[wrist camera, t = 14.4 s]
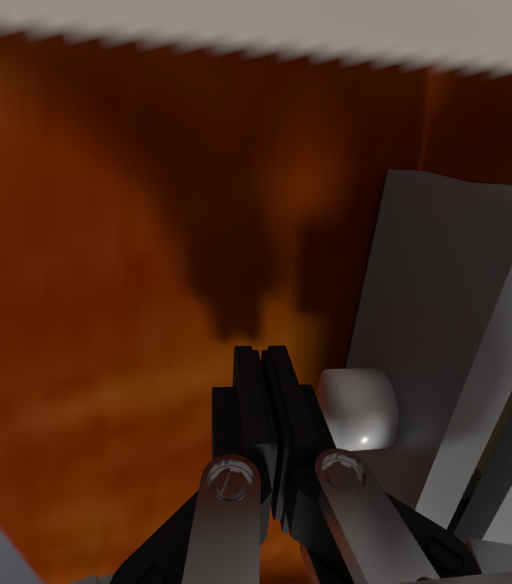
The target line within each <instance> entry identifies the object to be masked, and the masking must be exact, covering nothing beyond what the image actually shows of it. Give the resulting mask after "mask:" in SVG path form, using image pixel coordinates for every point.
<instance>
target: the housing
mask: <svg viewBox="0 0 512 584" xmlns="http://www.w3.org/2000/svg"><path fill="white" fill-rule="evenodd" d="M474 184H478V185H482V186H486V187H490V188H493V189H497V190H501V191H505V192H509V193H512V185H505V184H487V183H474ZM447 530H448V531H449V532H451V533H452V534H454V535H455V536H456V537H457V538H459V539H460V540H461V541H463V542H466V541H467V539H468V538H473V539H479V540H486V541H492V542H498V543H505V544H511V545H512V415H511V417H510V419H509V421H508V423H507V425H506V427H505V429H504V431H503V433H502V435H501V437H500V440H499V442H498V444H497V446H496V448H495V450H494V452H493V454H492V456H491V458H490V460H489V462H488V464H487V466H486V468H485V470H484V472H483V474H482V477H481V479H480V481H479V483H478V485H477V487H476V489H475V491H474V493H473V495H472V497H471V499H463V500H460V502H459V504H458V506H457V508H456V510H455V513H454V515H453V517H452V519H451V521H450V523H449V525H448V527H447Z"/></svg>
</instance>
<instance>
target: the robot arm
mask: <svg viewBox="0 0 512 584" xmlns="http://www.w3.org/2000/svg"><path fill="white" fill-rule="evenodd" d="M270 507H271V509H272V515H273V519H274V520H280V523H281V528H282V533H285V532H290V536H291V537H292V538H294V539H295V540H296V541H297V542H299V543H300V550H301V554H302V557H303V560H304V563H305V566H306V569H307V571H308V574H309V577H310V580H311V582H312V584H512V545H511V544H505V543H498V542H492V541H486V540H479V539H473V538H468V539H467V541H466V542H463V541H461V540H460V539H459V538H457V537H456V536H455V535H454V534H452V533H451V532H449V531H448V530H446V529H445V528H443V527H441V526H440V525H438V524H436V523H435V522H433V521H432V520H430V519H428V518H427V517H425V516H423V515H422V514H420V513H419V512H417V511H415V510H414V509H412V508H410V507H409V506H407V505H406V504H404V503H402V502H401V501H399V500H398V499H396V498H394V497H393V496H391V495H389V494H388V493H386V492H385V491H384V490H383V488H382V487H381V485H380V483H379V482H378V480H377V479H376V477H375V476H374V474H373V472H372V471H371V469H370V468H369V466H368V465H367V464H366V462H365V461H364V460H363V459H362V458H360V457H359V456H358V455H357V454H355V453H353V452H351V451H348V450H345V449H340V448H336V445H335V443H334V440H333V438H332V435H331V433H330V430H329V428H328V425H327V423H326V420H325V417H324V415H323V412H322V410H321V407H320V405H319V402H318V400H317V397H316V395H315V392H314V390H313V388H312V386H311V385H310V384H307V385H299V383H298V380H297V377H296V374H295V371H294V369H293V366H292V363H291V360H290V357H289V354H288V351H287V348H286V346H268V350H262V355H261V361H260V357H259V352H258V350H252V346H235V348H234V367H233V387H212V461H211V462H209V463H208V465H207V466H206V467H205V468H204V470H203V473H202V476H201V480H200V485H199V490H198V491H197V492H196V493H195V494H194V495H193V496H192V497H191V498H190V499H189V500H188V501H187V502H186V503H185V504H184V505H183V506H182V507H181V508H180V509H179V510H178V511H176V512H175V513H174V514H173V515H172V516H171V517H170V518H169V519H168V520H167V521H166V522H165V523H164V524H163V525H162V526H161V527H160V528H159V529H158V530H157V531H156V532H155V533H154V534H153V535H152V536H151V537H149V538H148V539H147V540H146V541H145V542H144V543H143V544H142V545H141V546H140V547H139V548H138V549H137V550H136V551H135V552H134V553H133V554H132V555H131V556H130V557H129V558H128V559H127V560H126V561H125V562H124V563H123V564H122V565H121V566H120V567H119V568H118V570H117V571H116V572H115V573H113V574H110V575H107V576H104V577H102V578H99V579H98V578H97V574H96V575H93V576H90V577H87V578H85V579H82V580H79V581H76V582H73V583H70V584H259V562H260V546H261V544H262V543H263V542H264V540H265V539H266V536H267V529H268V521H269V515H270Z"/></svg>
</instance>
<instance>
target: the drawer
mask: <svg viewBox="0 0 512 584" xmlns="http://www.w3.org/2000/svg"><path fill="white" fill-rule="evenodd" d="M511 391H512V193H509V192H505V191H501V190H497V189H493V188H490V187H486V186H482V185H478V184H474V183H470V182H466V181H462V180H458V179H454V178H450V177H446V176H442V175H439V174H435V173H431V172H427V171H415V170H398V169H388V172H387V177H386V182H385V186H384V191H383V196H382V200H381V205H380V210H379V214H378V219H377V224H376V228H375V233H374V238H373V243H372V247H371V252H370V257H369V261H368V266H367V271H366V275H365V280H364V285H363V289H362V294H361V299H360V304H359V308H358V313H357V318H356V322H355V327H354V332H353V336H352V341H351V346H350V350H349V355H348V360H347V365H346V369H325V370H324V371H323V372H322V374H321V376H320V379H319V384H318V394H317V400H318V402H319V405H320V407H321V410H322V412H323V415H324V417H325V420H326V423H327V425H328V428H329V430H330V433H331V435H332V438H333V440H334V443H335V445H336V448H340V449H345V450H348V451H351V452H353V453H355V454H357V455H358V456H359V457H360V458H362V459H363V460H364V461H365V462H366V464H367V465H368V466H369V468H370V469H371V471H372V472H373V474H374V476H375V477H376V479H377V480H378V482H379V483H380V485H381V487H382V488H383V490H384V491H385V492H386V493H388V494H389V495H391V496H393V497H394V498H396V499H398V500H399V501H401V502H402V503H404V504H406V505H407V506H409V507H410V508H412V509H414V510H415V511H417V512H419V513H420V514H422V515H423V516H425V517H427V518H428V519H430V520H432V521H433V522H435V523H436V524H438V525H440V526H441V527H443V528H445V529H446V530H447V527H448V525H449V523H450V521H451V519H452V517H453V515H454V513H455V510H456V508H457V506H458V504H459V502H460V500H463V499H471V497H472V495H473V493H474V491H475V489H476V487H477V485H478V483H479V481H480V479H481V477H482V474H481V473H480V472H479V470H478V469H477V468H476V466H477V463H478V461H479V459H480V457H481V455H482V453H483V451H484V449H485V446H486V444H487V442H488V440H489V438H490V436H491V434H492V431H493V429H494V427H495V425H496V423H497V421H498V419H499V417H500V414H501V412H502V410H503V408H504V406H505V404H506V402H507V400H508V397H509V395H510V393H511Z"/></svg>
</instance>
